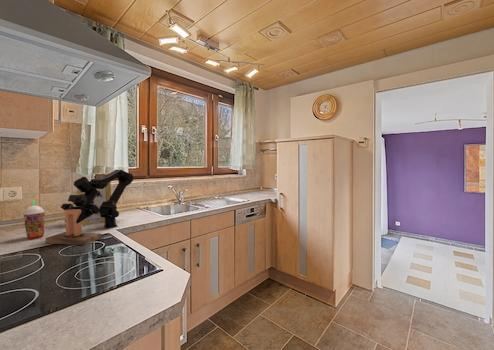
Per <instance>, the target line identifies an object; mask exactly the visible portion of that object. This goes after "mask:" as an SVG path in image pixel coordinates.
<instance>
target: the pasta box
mask: <svg viewBox="0 0 494 350" xmlns="http://www.w3.org/2000/svg"><path fill="white" fill-rule="evenodd" d="M88 180H89V181H90V180H91V179H88ZM111 182H112V181H111ZM111 182H109V183H108V185H107V186H106V187H105V188H104V189H97V190H98V191H100V193H101V196H96V197H95V199H94V200H93V201H94V204H95V205H96V206H97V207H98V208H99V209H100V206H101V205H102V203H103V202H104V201H105V202H107V201H108V200H109V198H110V197H111V195H112V187H111V184H112V183H111ZM84 193H85V192H81V191H79V190H78V189H77V188H76V195H80V194H84ZM81 212H82V210H81ZM97 224H105V217H101V215H100V213H98V214H93V215H91V216H89V217H87V218H86V219H84V220H82V221H81V225H82V227H83V226H84V227H85V226H90V225H97Z"/></svg>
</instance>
